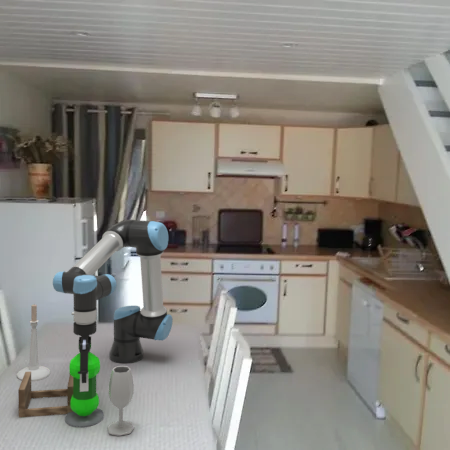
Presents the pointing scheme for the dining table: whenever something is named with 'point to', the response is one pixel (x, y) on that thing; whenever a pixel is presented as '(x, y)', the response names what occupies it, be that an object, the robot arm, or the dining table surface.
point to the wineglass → (121, 398)
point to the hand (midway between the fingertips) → (84, 383)
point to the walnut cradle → (27, 394)
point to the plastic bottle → (88, 399)
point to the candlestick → (34, 353)
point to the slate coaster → (84, 418)
